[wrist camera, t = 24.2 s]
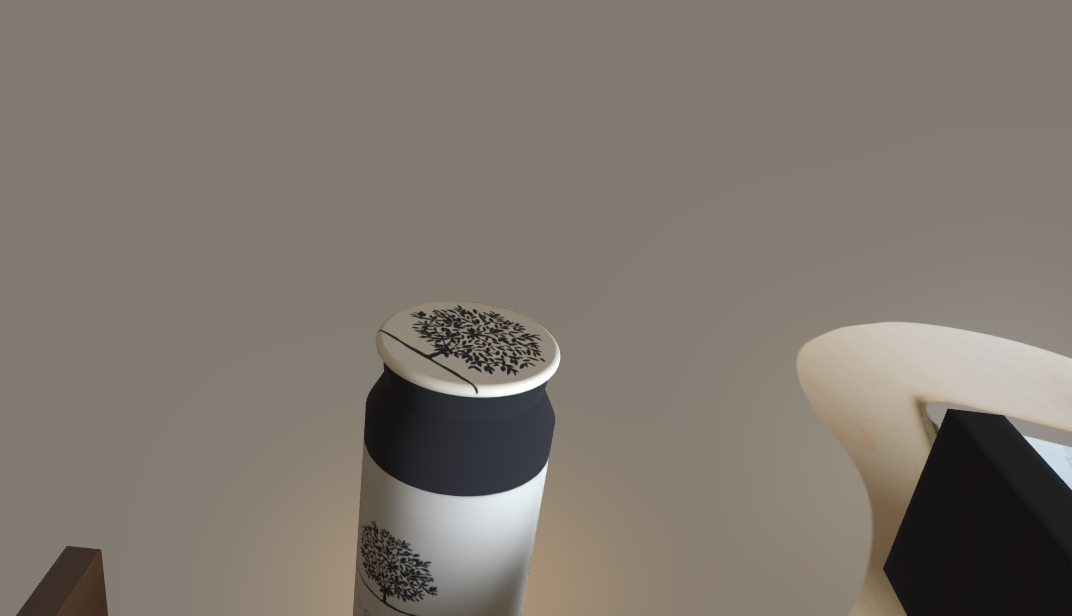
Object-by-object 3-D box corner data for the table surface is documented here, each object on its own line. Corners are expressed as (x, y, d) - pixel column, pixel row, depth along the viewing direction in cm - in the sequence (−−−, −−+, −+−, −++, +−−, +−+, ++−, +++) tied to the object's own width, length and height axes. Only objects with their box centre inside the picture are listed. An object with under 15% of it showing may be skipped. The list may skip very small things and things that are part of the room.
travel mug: (450, 578, 47) (486, 284, 40) (544, 675, 42) (607, 360, 35) (320, 640, 42) (333, 318, 35) (408, 760, 37) (447, 413, 30)
